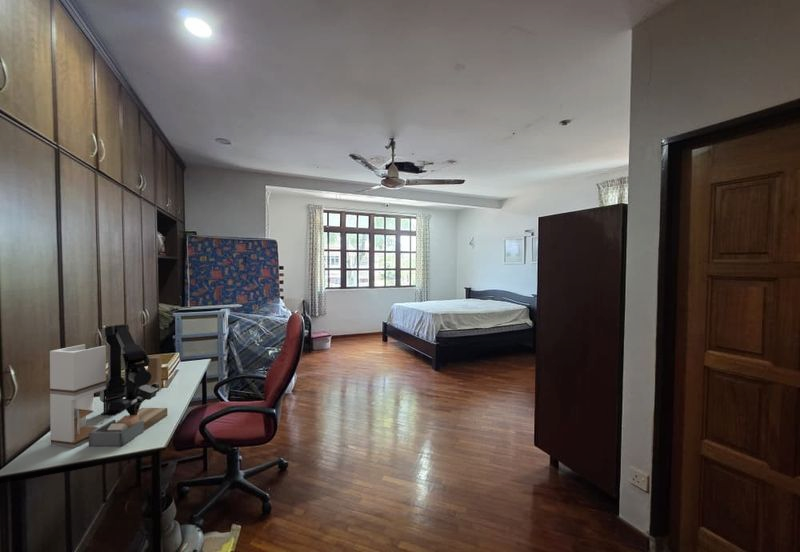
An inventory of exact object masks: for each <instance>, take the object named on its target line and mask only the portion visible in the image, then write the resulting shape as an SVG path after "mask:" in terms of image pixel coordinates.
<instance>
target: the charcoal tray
mask: <svg viewBox="0 0 800 552" xmlns="http://www.w3.org/2000/svg"><path fill="white" fill-rule="evenodd" d="M116 422H117V420H116V419H112V420H110V421H108V422H106V423H104V424H103V425H101V426H99V428H97V429H95V430H93V431H92V432H90V433H89V442H88V447H112V448H113V447H114V448H117V447H118V448H119V447H123V446H125V445H127V444H128V443H129V442H131V441H132V440H134V439H136V438H137V437H139V436H140V435H142V434H143V433H144V432H145V431H144V420H140V421H138V422H137V423H135V424H133V425H132V426H130V427H129V428H127V429H125V430H124V431H122V432H109V431H108V430H107V429H108V428H109V427H110V425H111V424H116ZM138 435H139V436H138ZM135 437H136V438H135Z"/></svg>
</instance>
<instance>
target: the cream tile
mask: <svg viewBox="0 0 800 552" xmlns="http://www.w3.org/2000/svg"><path fill="white" fill-rule="evenodd" d="M127 428H128V427H127V425H126V424H111V425H110V427H109V428H108V429H107V430H108V431H109V432H122V431H124V430H125V429H127Z"/></svg>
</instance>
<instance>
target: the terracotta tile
mask: <svg viewBox="0 0 800 552" xmlns="http://www.w3.org/2000/svg"><path fill="white" fill-rule="evenodd" d="M138 421H139V415H130V414H129V415H127V414H125V415H124V416H123V417H121V418H120V419H119V420H117V421H116V422H117V424H126V425H127V427H130V426H132V425H133V424H135V423H137V422H138Z"/></svg>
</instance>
